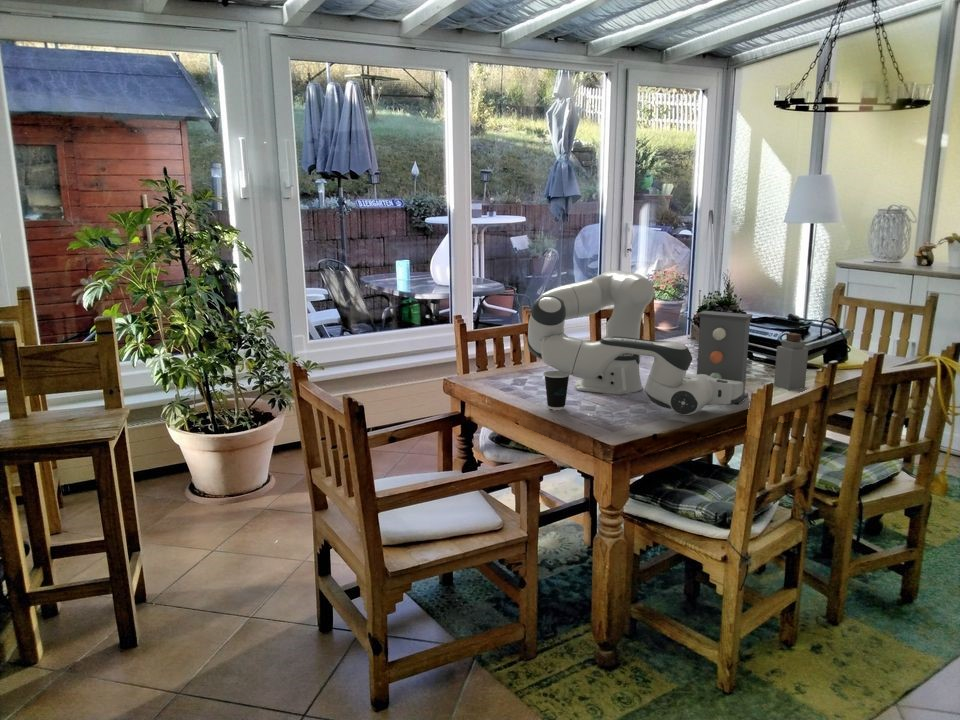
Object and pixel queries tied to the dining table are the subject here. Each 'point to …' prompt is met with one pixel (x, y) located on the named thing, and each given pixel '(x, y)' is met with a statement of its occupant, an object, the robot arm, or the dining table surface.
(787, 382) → the perfume bottle
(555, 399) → the dixie cup
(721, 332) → the button top
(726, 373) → the button column
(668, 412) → the dining table surface
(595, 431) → the dining table surface
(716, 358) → the button middle
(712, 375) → the button bottom
